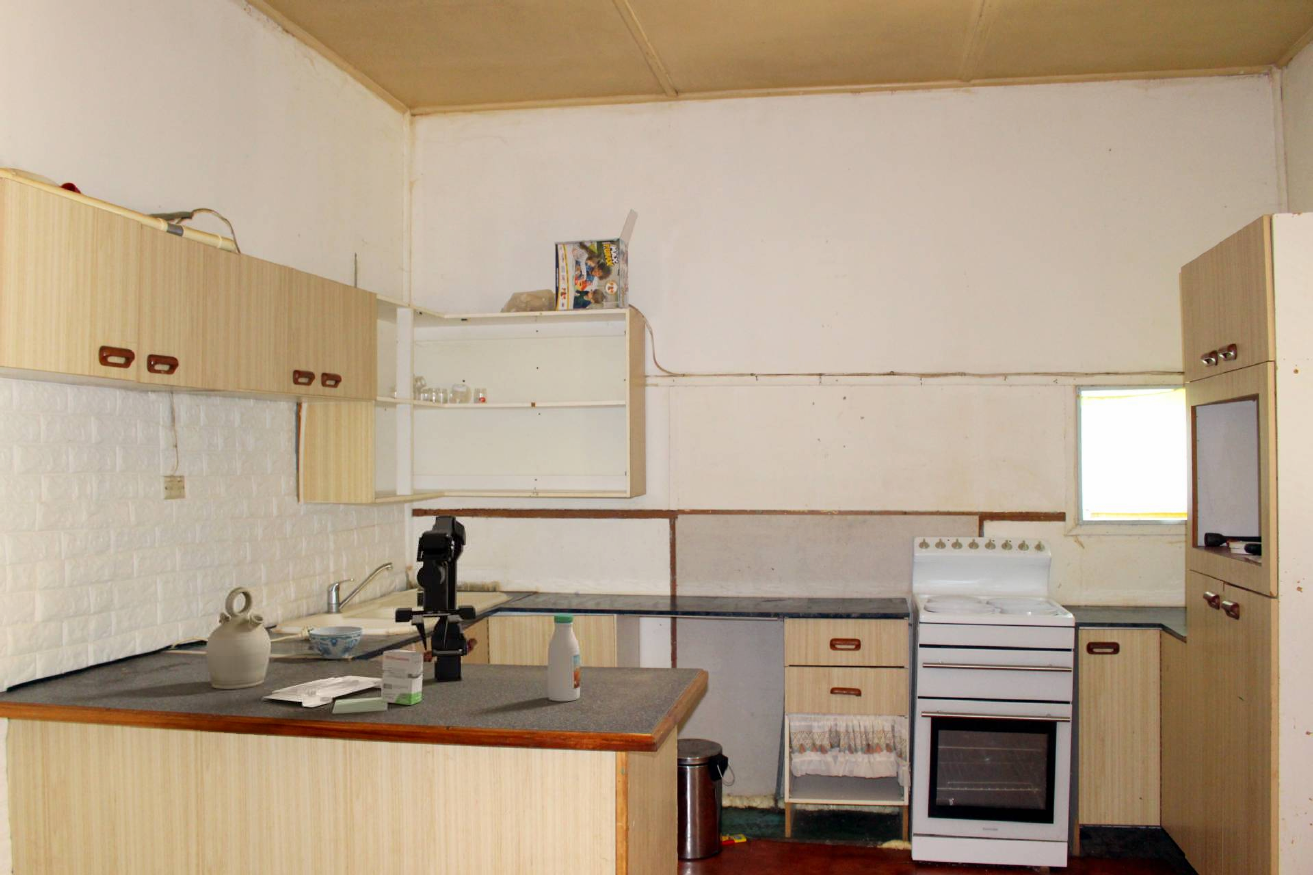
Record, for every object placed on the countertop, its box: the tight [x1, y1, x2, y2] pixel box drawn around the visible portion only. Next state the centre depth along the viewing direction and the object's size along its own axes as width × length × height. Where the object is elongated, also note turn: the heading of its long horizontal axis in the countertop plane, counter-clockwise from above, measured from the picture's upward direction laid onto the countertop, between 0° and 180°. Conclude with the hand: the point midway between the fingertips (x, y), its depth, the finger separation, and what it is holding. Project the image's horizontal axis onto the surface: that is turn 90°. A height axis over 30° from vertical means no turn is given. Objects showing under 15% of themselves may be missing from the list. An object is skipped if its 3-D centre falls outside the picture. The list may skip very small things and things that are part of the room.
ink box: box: [380, 649, 424, 706], centre depth 234 cm, size 9×5×12 cm, turn 70°
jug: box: [205, 586, 272, 690], centre depth 256 cm, size 15×16×25 cm
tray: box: [260, 675, 382, 708], centre depth 245 cm, size 20×28×4 cm
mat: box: [331, 696, 389, 715], centre depth 231 cm, size 12×12×1 cm
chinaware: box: [309, 625, 363, 659], centre depth 293 cm, size 15×15×8 cm
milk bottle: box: [547, 613, 581, 702], centre depth 238 cm, size 8×8×20 cm
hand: (435, 649), depth 236 cm, fingers open, 4 cm apart
